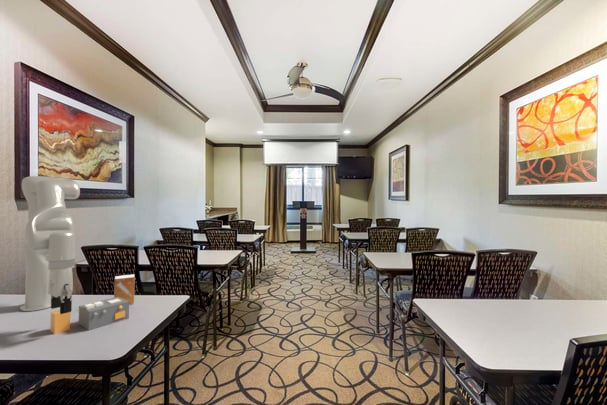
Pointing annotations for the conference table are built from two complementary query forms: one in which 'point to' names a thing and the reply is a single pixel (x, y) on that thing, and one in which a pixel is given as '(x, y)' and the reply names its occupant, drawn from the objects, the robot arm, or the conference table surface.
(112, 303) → the tagged breaker
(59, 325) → the cap
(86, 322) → the box
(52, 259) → the robot arm
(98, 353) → the conference table surface
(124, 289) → the small box
